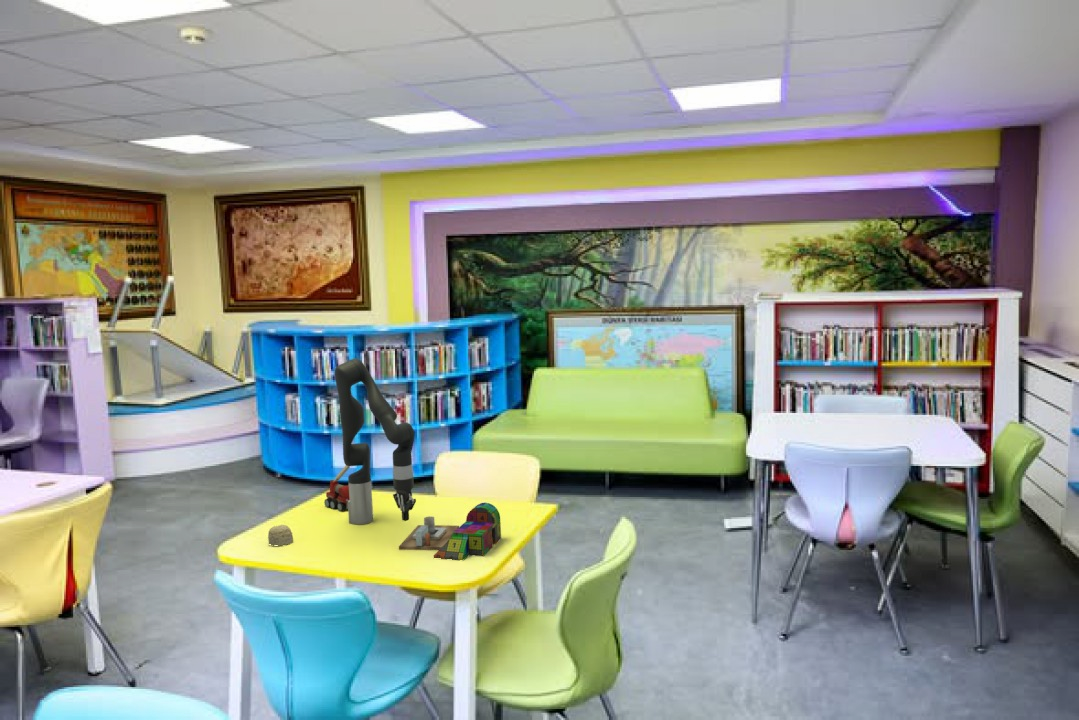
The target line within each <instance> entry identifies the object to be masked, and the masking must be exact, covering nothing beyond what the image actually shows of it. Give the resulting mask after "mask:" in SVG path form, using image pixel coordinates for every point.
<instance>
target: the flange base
mask: <svg viewBox="0 0 1079 720" xmlns="http://www.w3.org/2000/svg"><path fill="white" fill-rule="evenodd" d="M435 523H436V521H435V517H434V516H425V517H423V524H418V525H417V526H416V527H415V528H414V529H413V530H412V531H411V532H410V533H409V534H408V536H406V538H405V539H404V540H403V541H402V543H400V544H399V545H398V550H400V551H402V550H404V551H405V550H407V551H438V550H439V549H440V548H441V547H442V546H443V545H444V544H445V543H446V542H447V541H448V540H450V539H451V538H452V537H453V532H454V531H455V530H456V529H457V528H459V527H460V525H449V524H448V525H445V524H444V525H443V524H441V525H439V524H438V525H436V524H435ZM422 525H428V533H426V534H425V542H426V543H425V544H424V545H423V546H416V539H413V537H412V536H413V535H414V534H415V531H416V530H417V529H419V528H420V527H421V526H422ZM435 528H447V531H446V532H445V533H444V535H443V536H442V537H441V538H440V539H439V540H430V534H435Z"/></svg>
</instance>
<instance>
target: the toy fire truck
mask: <svg viewBox="0 0 1079 720" xmlns="http://www.w3.org/2000/svg"><path fill="white" fill-rule="evenodd" d="M350 467H351V466H346V465H345V466H344V467H343V468H342V469H341V470H340V472H339V473H337V475H336V476H335V478H334V479H332V480H330V482H329V486H330V487H329V491H327V492H325V494H326V498H325V499H324V502H323V503H324V506H325V508H327V509H328V508H330V509H331V510H336V509H337V510H338V511H339V512H344V511H345V512H346V510H348V501H349V500H350V499H349V484H348V485H343V484H340V483H339V482H338V481H340V479H341V478H342V477H343V476H344V475H345V474H346V472H348V470H349V469H350Z"/></svg>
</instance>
